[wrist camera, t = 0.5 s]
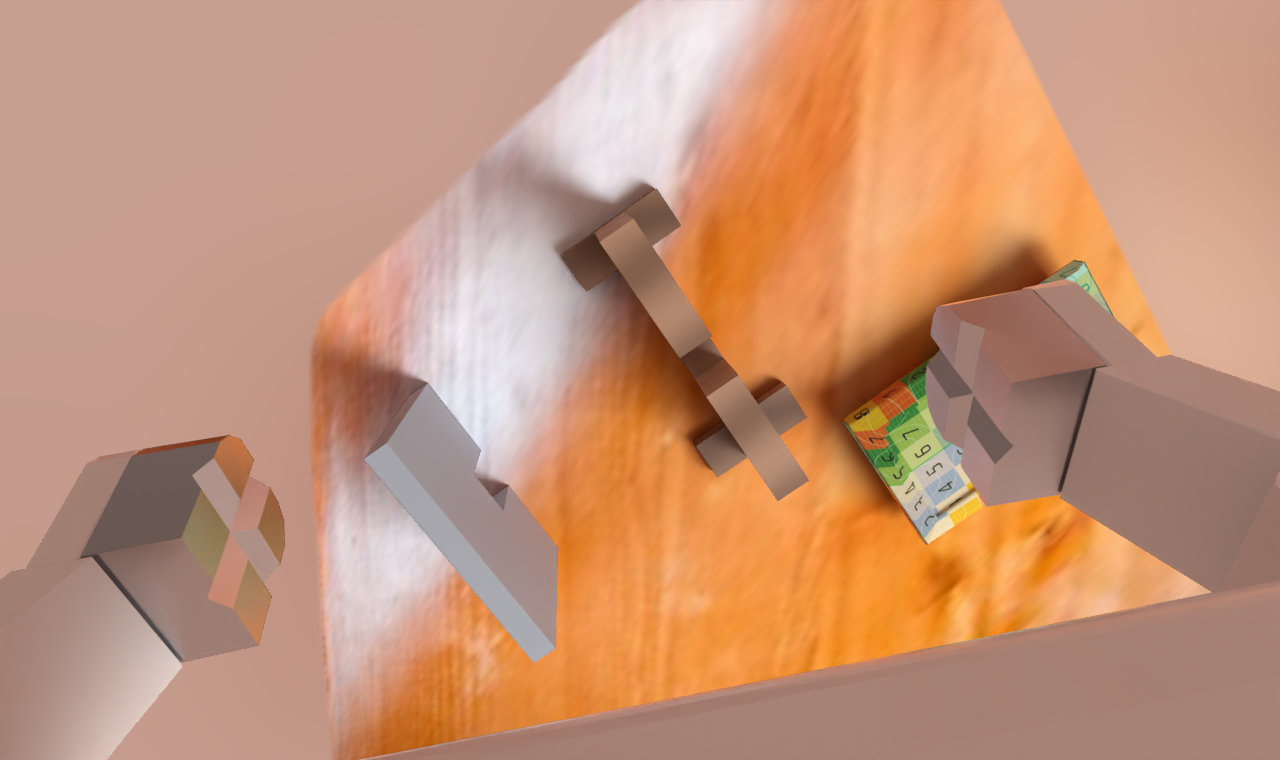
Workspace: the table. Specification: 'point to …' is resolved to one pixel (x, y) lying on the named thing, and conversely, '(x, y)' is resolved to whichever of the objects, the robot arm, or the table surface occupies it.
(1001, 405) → the robot arm
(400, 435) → the grey notched slab
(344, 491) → the table surface
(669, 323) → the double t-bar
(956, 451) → the puzzle game
